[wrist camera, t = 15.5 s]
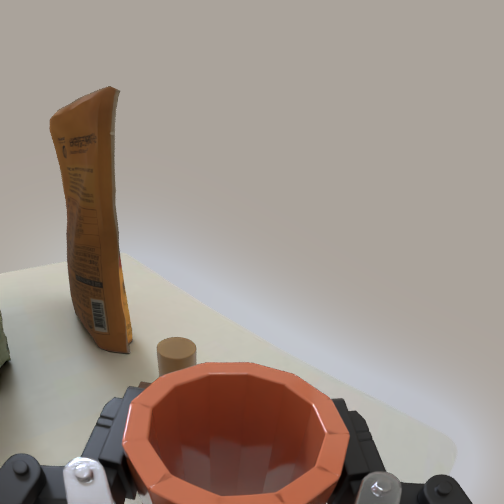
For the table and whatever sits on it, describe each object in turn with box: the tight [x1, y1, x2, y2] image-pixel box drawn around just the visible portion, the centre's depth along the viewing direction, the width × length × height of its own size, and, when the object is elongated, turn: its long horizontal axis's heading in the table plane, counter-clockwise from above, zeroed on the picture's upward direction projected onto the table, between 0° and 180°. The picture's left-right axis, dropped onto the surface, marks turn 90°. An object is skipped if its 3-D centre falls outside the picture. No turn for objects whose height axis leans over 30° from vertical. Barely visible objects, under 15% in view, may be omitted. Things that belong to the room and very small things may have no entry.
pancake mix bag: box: [50, 86, 132, 353], centre depth 34 cm, size 7×19×28 cm, turn 46°
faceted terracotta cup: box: [122, 362, 350, 504], centre depth 9 cm, size 6×6×9 cm
